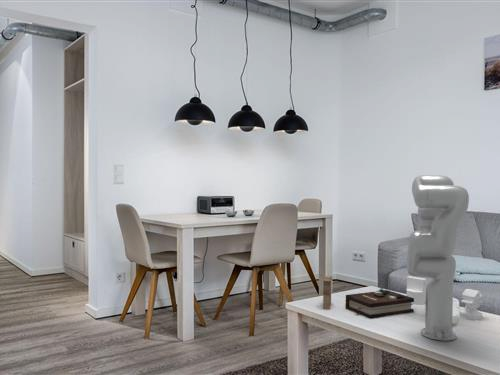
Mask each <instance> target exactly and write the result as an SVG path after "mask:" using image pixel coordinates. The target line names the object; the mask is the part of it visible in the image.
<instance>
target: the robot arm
mask: <svg viewBox="0 0 500 375" xmlns="http://www.w3.org/2000/svg"><path fill="white" fill-rule="evenodd" d="M411 193H412V196H413V200H414V203H415V206H416V207H417V216H418V217H419V220H420V221H419V222H420V224H419V229H418V230H414V231H412V232H411V234H410V236H409V239H408V245H407V255H406V270H407V274H409V276H412V277H418V278H430V279H431V278H432V279H431V280H430V281H429V283H428V284H426V304H425V319H424V327H423V328H421V329H420V334H421V335H422V336H423V337H425V338H428V339H430V340H436V341H442V342H443V341H444V342H449V341H455V340H456V339H457V337H458V336H457V333H456V332H454V331H453V314H454V313H453V312H454V311H453V307H454V301H453V300H454V279H455V275H456V268H457V262H456V261H457V260H456V259H455V257H454V256H453V254H454V252H455V248H456V244H457V237H458V233H459V232H458V231H459V227H460V226H461V223H462V222H463V220H464V218H465V216H466V214H467V211H468V208H469V203H470V200H469V199H470V195H469V192H468V190H467V189H466V188H464V187H462V186H460V185H456V184H455V185H454V182H453V180H452V178H450V177H448V176H446V175H432V174H431V175H430V174H429V175H426V174H425V175H418V176H416V177H414V179H413V182H412V185H411Z"/></svg>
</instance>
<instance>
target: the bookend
mask: <svg viewBox="0 0 500 375" xmlns="http://www.w3.org/2000/svg"><path fill="white" fill-rule="evenodd" d="M332 280H333V276H329V275H325V276H324V278H323V294H322V296H323V298H322V305H323V306H322V309H323V310H330V309H331V306H332Z"/></svg>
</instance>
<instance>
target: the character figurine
mask: <svg viewBox="0 0 500 375" xmlns="http://www.w3.org/2000/svg"><path fill="white" fill-rule="evenodd" d="M461 298H462V299H461V300H460V302H461V303H463V304H465V306H464V309H461V310H459V316H460V317H461V319H462V318H463V319H466V320H471V321H481V320H482V319H483V313H482V312H481V311H478V308H480V306H481V305H482V303H483V302H482V300H481V299H482V298H484V296H483V294H482V293H481V292H480V290H475V289H470V288H466V289H464V291H463V292H462V293H461Z"/></svg>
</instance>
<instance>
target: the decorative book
mask: <svg viewBox="0 0 500 375" xmlns="http://www.w3.org/2000/svg"><path fill="white" fill-rule="evenodd" d="M411 302H414V298H411V297H408V296H407V295H404V294H402V293H399V292H398V293H397V292H394V291H391V290H387V289H384V288H380V289H378V290H376V291H369V292H361V293H360V292H359V293H352V294H345V309H346V310H348V311H350V312H353V313H356V314H358V315H360V316H362V317H365V318H368V319H369V320H371V319H377V318H384V317H391V316H398V315H403V314H409V313H410V314H411V313H414V311H415V309H414V308H412V306H414V304H411Z"/></svg>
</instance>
